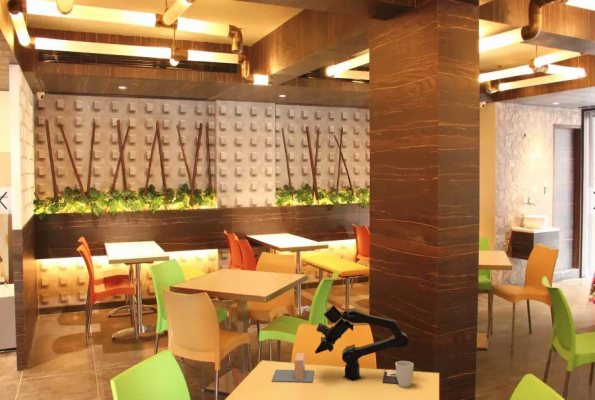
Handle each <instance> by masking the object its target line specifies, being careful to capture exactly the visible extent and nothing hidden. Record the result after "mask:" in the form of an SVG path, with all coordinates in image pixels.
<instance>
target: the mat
mask: <svg viewBox="0 0 595 400" xmlns="http://www.w3.org/2000/svg"><path fill="white" fill-rule="evenodd" d="M313 376H315V369H314V370H313V369H305V373H304V377H303V380H295V369H275V370H274V373H273V375H272V379H271V383H300V382H302V383H306V384H309V383H310V384H311V383H312V384H313V381H314V377H313Z"/></svg>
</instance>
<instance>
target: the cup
mask: <svg viewBox="0 0 595 400" xmlns="http://www.w3.org/2000/svg"><path fill="white" fill-rule="evenodd" d="M395 370H396V376H397V381H398V384H397V385H398V387H400V388H410V387H411V385H412V381H413V376H414V362H412V361H408V360H399V361H396V362H395Z"/></svg>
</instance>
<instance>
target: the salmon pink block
mask: <svg viewBox="0 0 595 400" xmlns="http://www.w3.org/2000/svg"><path fill="white" fill-rule="evenodd" d="M305 353H306V352H297V353H296V356H295V359H294V370H295V380H303V377H304V373H305V370H306V368H305V367H306V366H305V365H306V364H305V363H306V361H305V360H306V359H305V357H306V354H305Z"/></svg>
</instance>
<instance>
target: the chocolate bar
mask: <svg viewBox="0 0 595 400" xmlns="http://www.w3.org/2000/svg"><path fill="white" fill-rule="evenodd" d="M388 370H389V372H385V371H384V372H383V373H384V374H383V378H382V384H386V385H399V384H398V381H397V376H396V369H395V370H392V369H388ZM392 372H393V374H388V373H392Z"/></svg>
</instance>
